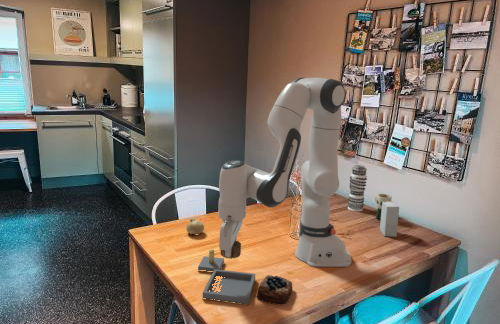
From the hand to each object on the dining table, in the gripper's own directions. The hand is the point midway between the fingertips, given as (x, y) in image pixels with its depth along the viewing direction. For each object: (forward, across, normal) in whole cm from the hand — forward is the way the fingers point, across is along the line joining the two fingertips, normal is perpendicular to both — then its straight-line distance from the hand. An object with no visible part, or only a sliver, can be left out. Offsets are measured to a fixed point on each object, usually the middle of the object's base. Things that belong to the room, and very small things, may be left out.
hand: (230, 250), depth 119 cm
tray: (+14, 0, 0) cm, 14 cm away
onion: (+15, +41, +25) cm, 50 cm away
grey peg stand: (+14, +13, +10) cm, 22 cm away
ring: (+1, 0, 0) cm, 1 cm away
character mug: (+14, +81, -65) cm, 105 cm away
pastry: (+15, +1, -15) cm, 21 cm away
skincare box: (+14, +62, -64) cm, 90 cm away
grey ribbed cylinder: (+14, +94, -53) cm, 109 cm away
